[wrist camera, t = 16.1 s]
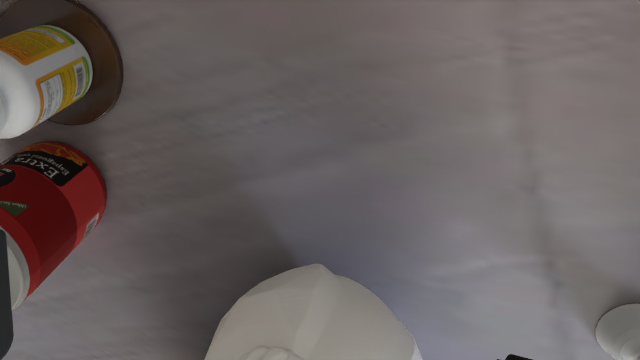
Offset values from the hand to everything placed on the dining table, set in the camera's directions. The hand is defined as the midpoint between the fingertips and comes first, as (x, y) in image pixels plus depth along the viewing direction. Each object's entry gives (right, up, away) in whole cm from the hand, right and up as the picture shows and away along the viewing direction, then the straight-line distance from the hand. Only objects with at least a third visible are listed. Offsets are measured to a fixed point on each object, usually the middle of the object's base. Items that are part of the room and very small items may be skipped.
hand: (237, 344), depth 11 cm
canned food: (-18, +3, +34) cm, 39 cm away
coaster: (-16, +11, +29) cm, 35 cm away
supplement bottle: (-16, +11, +29) cm, 35 cm away
